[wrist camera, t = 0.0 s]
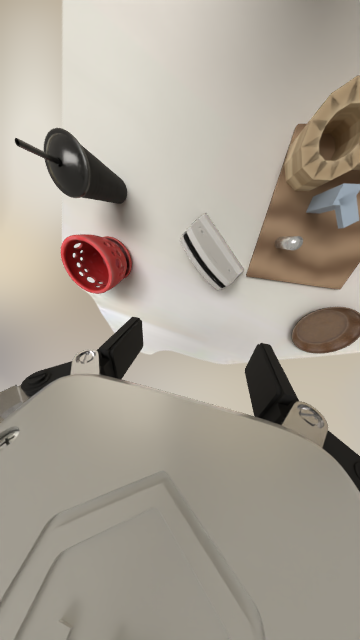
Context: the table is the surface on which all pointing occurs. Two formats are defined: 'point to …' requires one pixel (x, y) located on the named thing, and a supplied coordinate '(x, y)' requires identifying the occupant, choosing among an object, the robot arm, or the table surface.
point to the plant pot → (96, 261)
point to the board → (307, 233)
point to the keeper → (338, 203)
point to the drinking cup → (77, 168)
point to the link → (345, 127)
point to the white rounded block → (210, 253)
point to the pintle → (289, 242)
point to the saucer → (327, 330)
